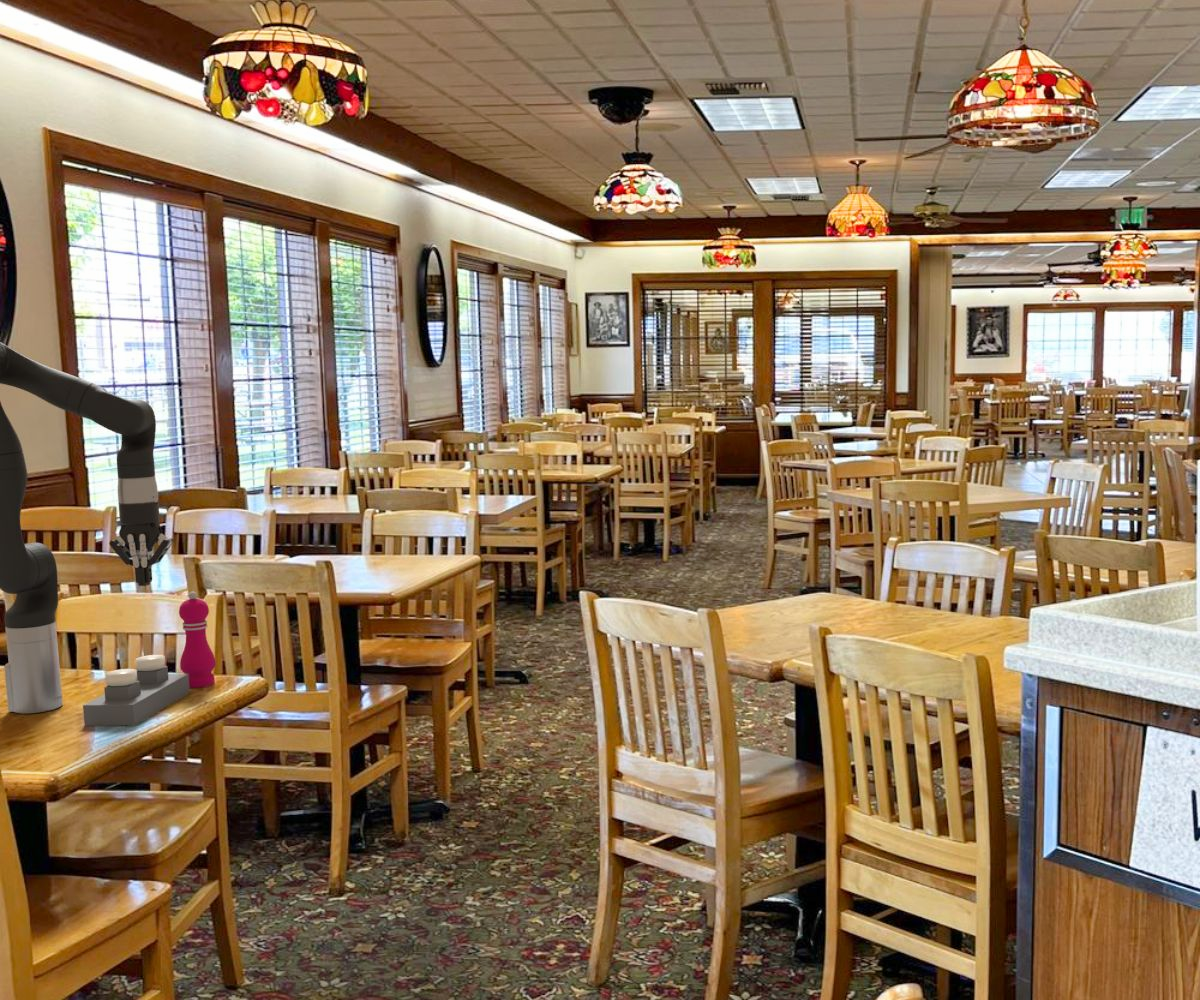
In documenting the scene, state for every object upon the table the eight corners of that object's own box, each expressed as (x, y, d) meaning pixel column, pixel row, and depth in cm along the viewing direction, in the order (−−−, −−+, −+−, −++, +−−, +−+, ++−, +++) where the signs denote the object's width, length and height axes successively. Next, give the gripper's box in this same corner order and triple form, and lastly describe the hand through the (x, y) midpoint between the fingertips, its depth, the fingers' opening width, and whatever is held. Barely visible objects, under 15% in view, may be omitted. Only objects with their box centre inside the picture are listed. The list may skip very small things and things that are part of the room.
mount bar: (84, 725, 243) (81, 692, 242) (143, 693, 266) (141, 662, 266) (134, 725, 241) (131, 691, 241) (189, 692, 265) (187, 661, 264)
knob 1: (102, 699, 245) (100, 676, 244) (116, 691, 250) (114, 669, 250) (129, 698, 244) (128, 675, 244) (143, 691, 250) (141, 668, 249)
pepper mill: (206, 688, 268) (199, 594, 266) (175, 688, 269) (167, 594, 267) (223, 680, 275) (216, 588, 273) (192, 679, 276) (185, 588, 274)
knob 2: (132, 683, 257) (130, 661, 256) (145, 676, 262) (143, 654, 262) (158, 683, 256) (156, 661, 256) (171, 676, 262) (169, 654, 261)
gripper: (97, 502, 252) (104, 589, 254) (161, 501, 251) (167, 588, 253) (116, 498, 260) (122, 582, 262) (178, 497, 258) (184, 581, 260)
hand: (144, 585), depth 257 cm, fingers closed
